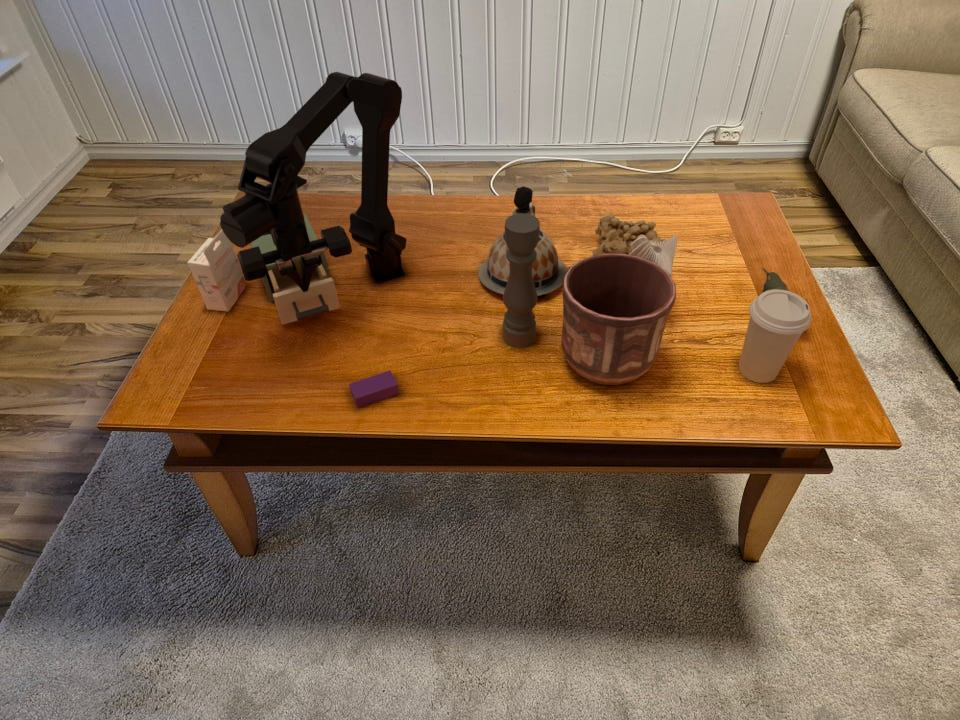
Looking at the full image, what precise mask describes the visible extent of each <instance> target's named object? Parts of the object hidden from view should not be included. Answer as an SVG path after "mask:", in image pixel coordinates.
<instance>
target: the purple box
mask: <svg viewBox="0 0 960 720" xmlns="http://www.w3.org/2000/svg"><path fill="white" fill-rule="evenodd" d="M348 386H349V390H350V394H351V396H352V398H353V401H354V404H355V406H356V408H357V409H358V408H362V407H364V406H367V405H371V404H373V403H377V402H380V401H382V400H386V399H388V398H391V397H394V396H396V395H400V391H399V385H398V382H397V380H396V378H395V376H394V375H393V373H392V371H391V369H390V370H386V371H384V372H381V373H378V374H375V375H371V376H369V377H365V378H362V379H359V380H357V381H353V382H350V383H349V384H348Z"/></svg>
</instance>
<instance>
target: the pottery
mask: <svg viewBox="0 0 960 720" xmlns="http://www.w3.org/2000/svg"><path fill="white" fill-rule="evenodd" d="M676 299H677V284H676V283H675V281H674V279H673V277H672V278H671V276H670V275H669V273H667V272H666V271H665V270H663V269H662V268H661V267H660V266H658V265H657V264H656V263H653V262H651V261H648V260H646V259H643V258H641V257H637V256H632V255H627V254H600V255H595V256H593V255H591V256H588V257H586V258H583V259H580V260H578V261H577V262H575V263H574V264H573V265H571V266H570V267H568V268H567V273H566V274H565V276H564V280H563V284H562V315H563V316H562V327H561V337H560V338H561V341H560V342H561V349H562V352H563V354H564V357H565V359H566V361H567V363H568V365H569V367H570V368H571V369H572V370H573V371H574V372H575V373H576V374H577V375H578V376H581V377H582V378H584V379H586V380H587V381H590V382H592V383H595V384H599V385H603V386H619V385H623V384H628V383H633V382H634V381H635V380H637V379H639V378H640V377H642V376H644V374H646V373H648V372H649V370H650V369H651V367H652V366H653V365H654V363H655V361H656V360H657V359H658V356H659V353H660V349H661V344H662V341H663V335H664V331H665V328H666V325H667V322H668V319H669V316H670V314H671V312H672V309H673V307H674V305H675V302H676Z"/></svg>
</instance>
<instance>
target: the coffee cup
mask: <svg viewBox="0 0 960 720" xmlns="http://www.w3.org/2000/svg"><path fill="white" fill-rule="evenodd" d="M748 314H749V315H750V316H749V318H748V319H749V320H748V323H747V324H748V325H747V328H746V333H745V337H744V341H743V346H742V349H741V354H740V356H739V361H738V370H739V372H740V374H741V375H742V376H743V377H744V378H746V379H747V380H749V381H751V382H754V383H757V384H758V383H759V384H766V383H771V382H773V381H774V380H775V379H776V378H777V376H778V375H779V373H780V371H782V370H781V369H782V368H783V367H784V364H785V363H786V361H787V359H788V358H789V356H790V354H791V353H792V351H793V349H794V347H795V346H796V344H797V343H798V341H799V339H800V338H801V336H802V334H803V332H805V331H807V330H808V329H809V328H810V326H811V324H812V313H811V309H810V305H809V303H808V302H807V301H806V299H804V298H803V297H802V296H800V295H799V294H797V293H795V292H793V291H790V290H789V291H786V290H779V289H774V290H768V291H765V292H761V294H759V295H757V297H755V298H754V299H753V300H752V302H751V303H750V304H749V306H748Z"/></svg>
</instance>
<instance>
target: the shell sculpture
mask: <svg viewBox="0 0 960 720" xmlns="http://www.w3.org/2000/svg"><path fill="white" fill-rule="evenodd" d="M665 240H666V241H665ZM665 240H664V241H663V243H662V241H661V242H660V244H659V243H658V248H657V244H656V242H655V241H654V243H653V242H652V241H651V240H650V241H649V240H648V239H647V237H646V236H645V235H640V236H639V237H638V239H636V240H635V241H633V242H632V243H631V245H630V247H631V249H632V252H631V253H630V254H629V255H632V256H637V257H641V258H643V259H644V258H645V259H646V260H648V261H651V262H653V263H656V264H657V265H658V266H660V267H661V268H662V269H663V270H665V271H666V272H667V273H669V275H670V276H671V278H672V279H673V263H674V259H675V255H676V252H677V249H678V248H677V247H678V241H679V235H678V234H675V235H674V236H671V238H667V239H665Z"/></svg>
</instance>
